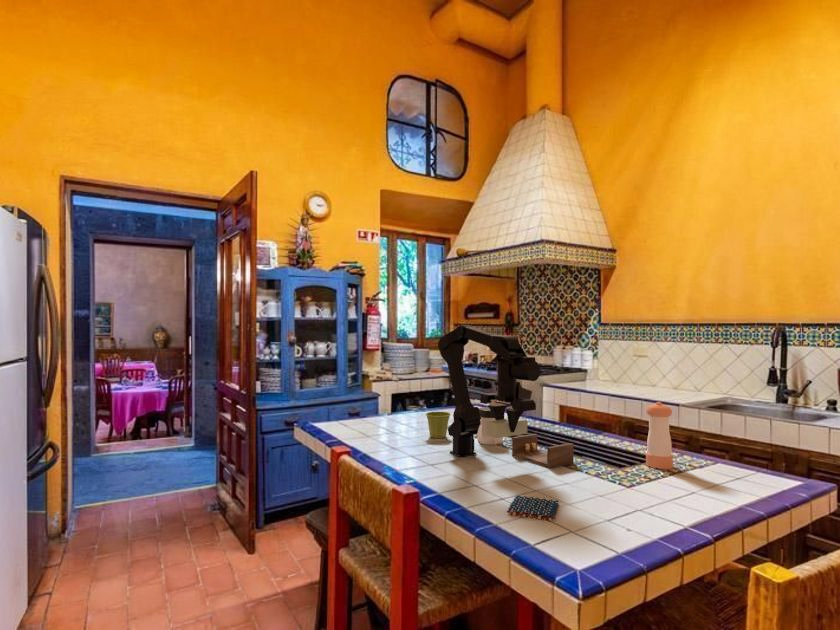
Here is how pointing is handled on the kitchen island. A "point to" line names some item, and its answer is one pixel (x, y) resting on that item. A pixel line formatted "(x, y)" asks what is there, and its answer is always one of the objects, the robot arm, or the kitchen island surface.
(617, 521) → the kitchen island surface
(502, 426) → the beige rectangular block
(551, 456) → the shelf frame
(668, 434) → the pepper shaker
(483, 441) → the jar
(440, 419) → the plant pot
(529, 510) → the woven mat
